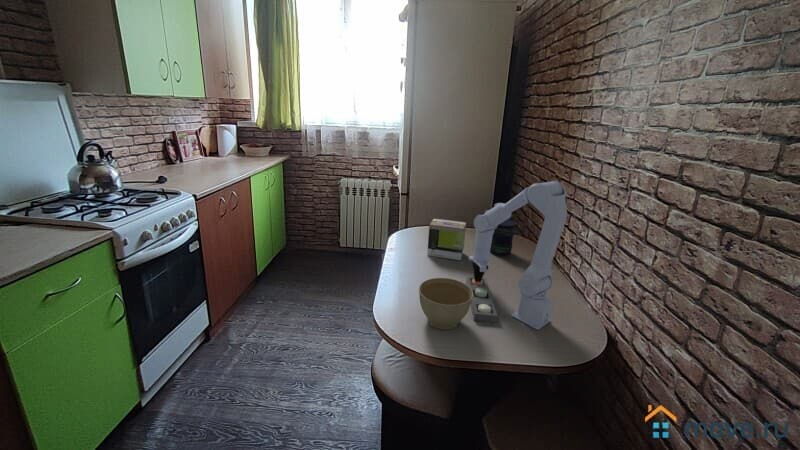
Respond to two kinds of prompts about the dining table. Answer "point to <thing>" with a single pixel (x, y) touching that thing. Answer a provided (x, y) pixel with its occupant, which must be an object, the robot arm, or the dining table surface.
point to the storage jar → (503, 239)
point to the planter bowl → (445, 301)
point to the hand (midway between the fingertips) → (477, 280)
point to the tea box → (446, 239)
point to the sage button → (480, 293)
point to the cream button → (484, 308)
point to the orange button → (477, 282)
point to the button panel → (482, 302)
